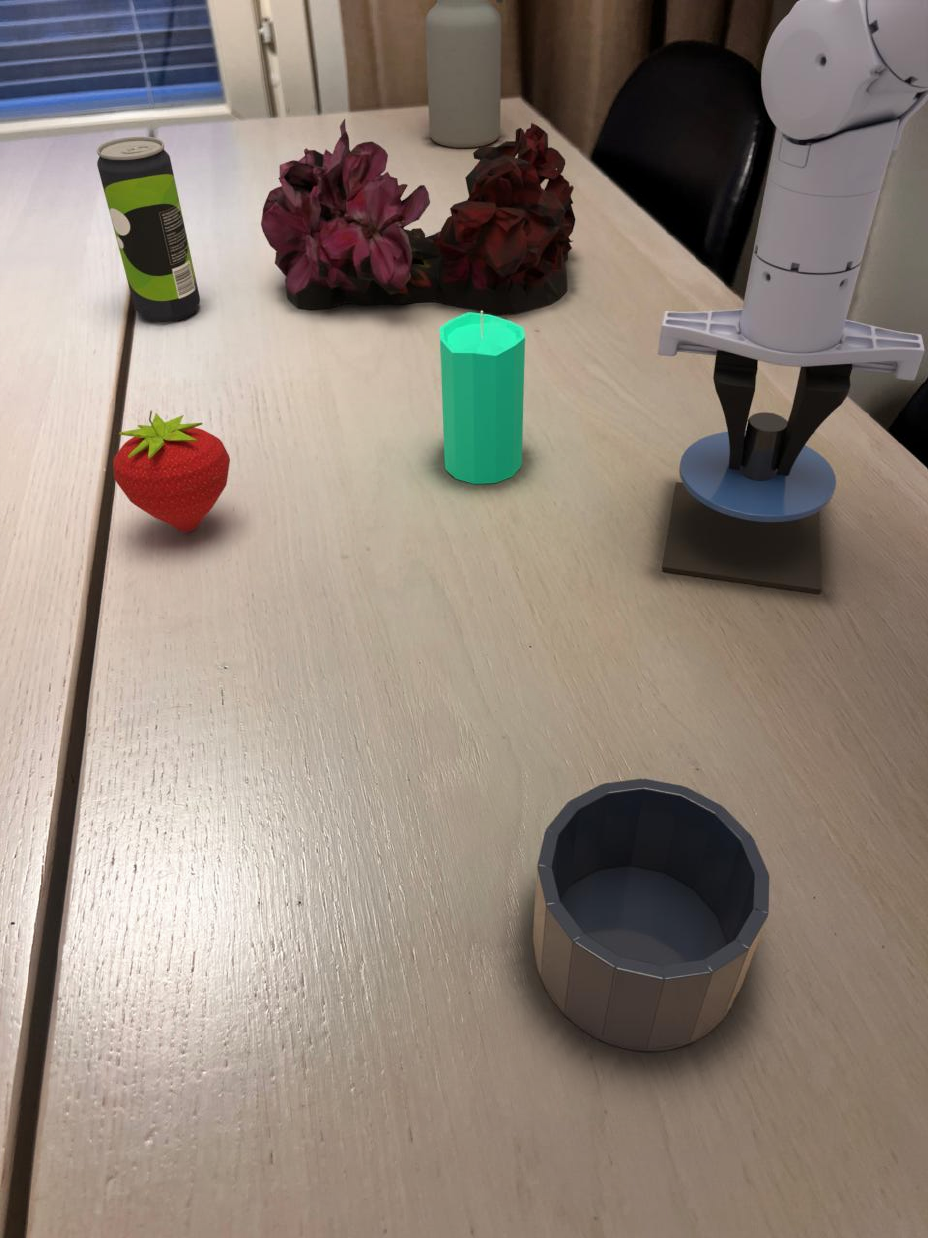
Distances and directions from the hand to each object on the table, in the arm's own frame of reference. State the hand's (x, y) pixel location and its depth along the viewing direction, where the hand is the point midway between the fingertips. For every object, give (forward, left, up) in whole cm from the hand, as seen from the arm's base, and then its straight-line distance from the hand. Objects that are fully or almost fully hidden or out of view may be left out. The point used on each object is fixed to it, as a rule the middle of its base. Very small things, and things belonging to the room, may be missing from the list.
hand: (759, 464), depth 61 cm
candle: (+19, -5, -6) cm, 21 cm away
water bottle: (+40, -83, -6) cm, 93 cm away
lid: (0, 0, -1) cm, 1 cm away
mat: (0, 0, -6) cm, 6 cm away
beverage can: (+55, -24, -6) cm, 61 cm away
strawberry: (+37, +8, -6) cm, 39 cm away
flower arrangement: (+32, -35, -6) cm, 48 cm away
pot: (+3, +32, -6) cm, 33 cm away
